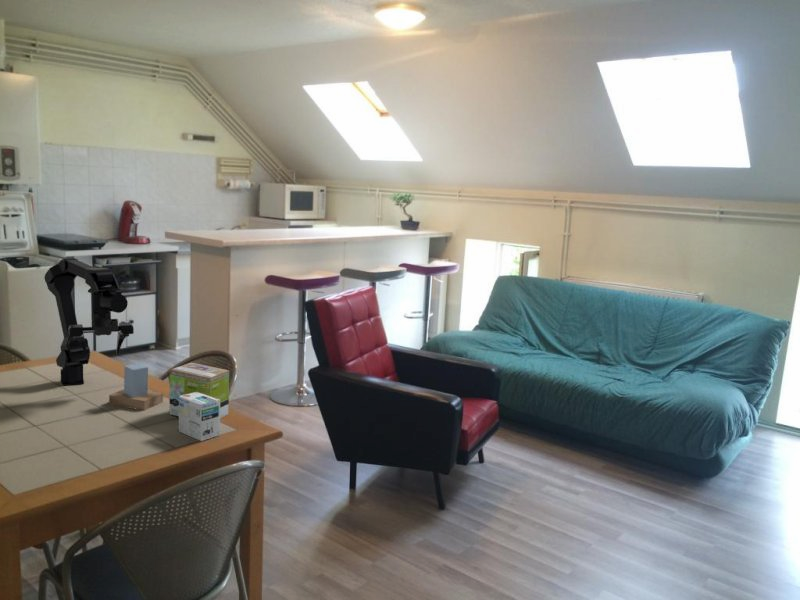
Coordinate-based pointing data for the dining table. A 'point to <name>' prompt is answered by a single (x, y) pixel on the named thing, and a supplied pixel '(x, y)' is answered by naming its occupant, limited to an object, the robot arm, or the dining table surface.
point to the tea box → (199, 384)
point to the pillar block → (135, 380)
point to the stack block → (136, 400)
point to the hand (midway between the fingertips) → (101, 355)
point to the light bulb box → (199, 416)
